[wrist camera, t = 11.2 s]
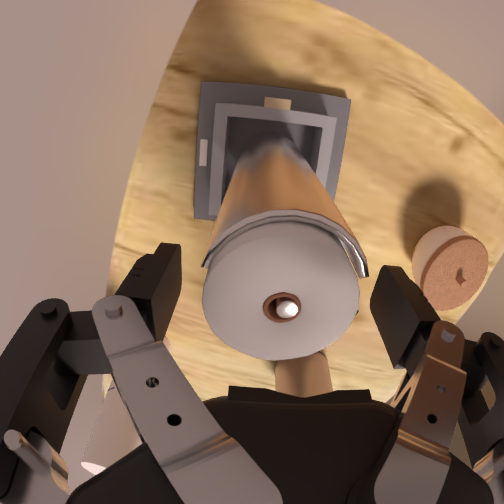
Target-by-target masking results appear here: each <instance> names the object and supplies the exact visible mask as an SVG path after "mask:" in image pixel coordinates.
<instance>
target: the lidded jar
mask: <svg viewBox="0 0 504 504" xmlns="http://www.w3.org/2000/svg"><path fill="white" fill-rule="evenodd" d="M487 269H488V254H487V251H486V248H485V247H484V245H483V244H482V243H481V242H480V241H479V240H477V239H476V238H474V237H473V236H472V235H470V234H469V233H467V232H466V231H464V230H462V229H460V228H457V227H454V226H440V227H436V228H434V229H432V230H430V231H428V232H427V233H425V234H424V235H423V236H422V237H421V238H420V240H419V241H418V243H417V245H416V247H415V249H414V253H413V257H412V272H413V276H414V280H415V282H416V284H417V285H418V286H419V287H420V289H421V290H422V292H423V293H424V296H426V298H427V299H428V302H430V304H431V305H432V307H433V308H434V309H436V310H441V311H443V310H451V309H454V308H456V307H458V306H460V305H462V304H463V303H465V302H466V301H468V300H469V299H470V298H471V297H472V296H473V295H474V294H475V293H476V292H477V290H478V289H479V287H480V286H481V284H482V282H483V281H484V278H485V276H486V273H487Z"/></svg>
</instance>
